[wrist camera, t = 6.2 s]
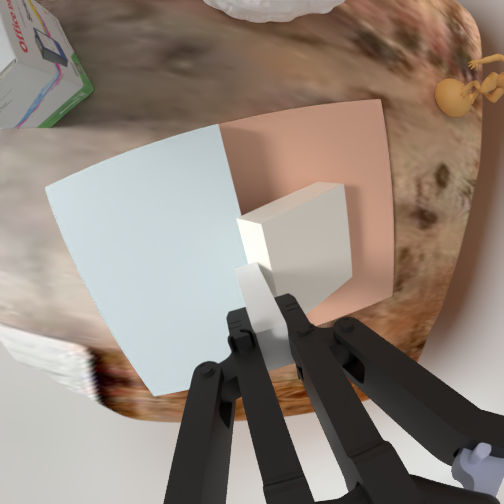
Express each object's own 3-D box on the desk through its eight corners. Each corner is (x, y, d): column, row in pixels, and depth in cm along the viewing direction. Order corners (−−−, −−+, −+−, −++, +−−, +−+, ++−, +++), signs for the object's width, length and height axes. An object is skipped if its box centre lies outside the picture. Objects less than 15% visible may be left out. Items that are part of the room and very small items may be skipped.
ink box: (15, 58, 13) (-75, 36, 2) (62, 17, 13) (-12, -37, 2) (49, 130, 17) (-53, 144, 6) (100, 89, 17) (16, 58, 6)
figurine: (409, 99, 21) (516, 104, 10) (415, 46, 19) (513, 33, 8) (460, 129, 23) (550, 148, 12) (465, 81, 21) (552, 88, 10)
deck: (67, 177, 19) (44, 187, 15) (213, 125, 20) (218, 123, 16) (156, 367, 27) (154, 396, 23) (268, 337, 28) (279, 364, 24)
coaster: (236, 218, 18) (261, 224, 16) (318, 181, 22) (343, 183, 20) (262, 317, 22) (284, 330, 20) (329, 268, 26) (352, 276, 24)
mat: (213, 125, 20) (214, 125, 19) (376, 99, 21) (380, 99, 20) (268, 337, 28) (270, 341, 28) (389, 293, 29) (392, 295, 29)
